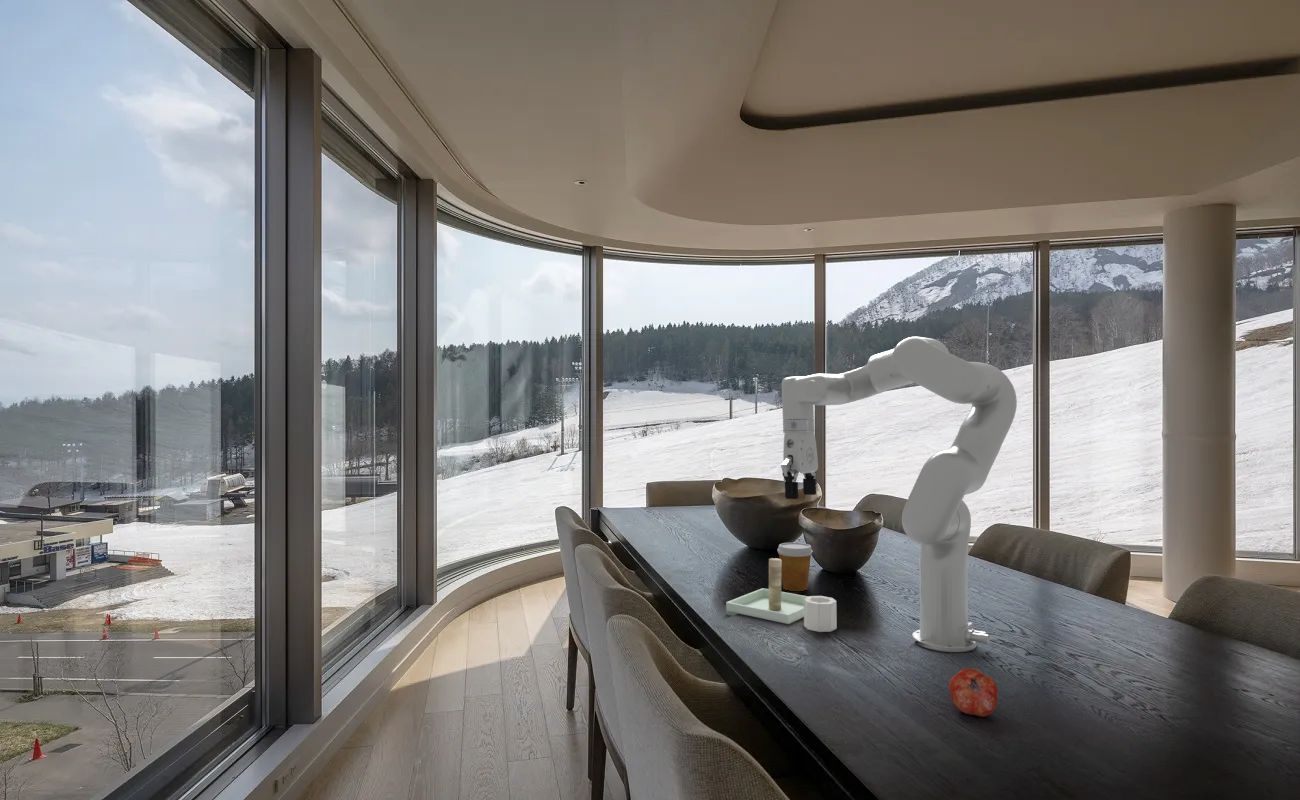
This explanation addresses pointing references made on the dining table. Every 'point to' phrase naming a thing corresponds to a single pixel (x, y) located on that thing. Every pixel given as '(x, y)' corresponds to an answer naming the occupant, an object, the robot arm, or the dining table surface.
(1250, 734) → the dining table surface
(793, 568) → the disposable coffee cup
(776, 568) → the wooden pin
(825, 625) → the cup holder
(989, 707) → the red tomato
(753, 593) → the tray
